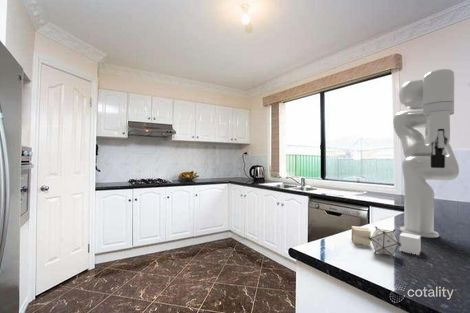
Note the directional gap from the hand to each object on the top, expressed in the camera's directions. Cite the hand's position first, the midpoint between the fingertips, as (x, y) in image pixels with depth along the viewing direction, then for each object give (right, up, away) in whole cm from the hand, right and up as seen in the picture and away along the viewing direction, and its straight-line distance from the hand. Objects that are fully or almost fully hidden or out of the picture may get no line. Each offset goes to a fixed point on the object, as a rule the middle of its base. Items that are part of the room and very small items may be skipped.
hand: (437, 167), depth 74 cm
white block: (-8, -27, +1) cm, 28 cm away
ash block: (-20, -27, +8) cm, 34 cm away
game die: (-18, -27, -2) cm, 33 cm away
